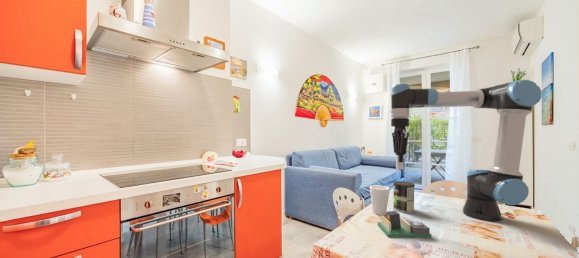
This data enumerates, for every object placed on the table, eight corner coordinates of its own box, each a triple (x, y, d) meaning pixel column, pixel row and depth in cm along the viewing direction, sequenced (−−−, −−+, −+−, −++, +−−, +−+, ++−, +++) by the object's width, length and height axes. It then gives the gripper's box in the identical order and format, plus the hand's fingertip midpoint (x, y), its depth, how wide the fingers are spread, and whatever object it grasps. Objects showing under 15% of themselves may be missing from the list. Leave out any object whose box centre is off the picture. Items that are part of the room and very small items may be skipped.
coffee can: (396, 212, 127) (396, 184, 127) (391, 206, 137) (391, 180, 137) (417, 213, 126) (417, 185, 126) (410, 207, 136) (410, 181, 136)
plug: (396, 224, 106) (395, 210, 106) (400, 228, 102) (399, 214, 102) (387, 225, 106) (386, 211, 106) (391, 229, 102) (389, 214, 102)
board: (416, 225, 109) (416, 215, 109) (431, 237, 97) (431, 225, 97) (377, 225, 109) (377, 214, 109) (387, 236, 97) (388, 224, 97)
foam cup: (389, 211, 128) (390, 186, 128) (388, 217, 119) (389, 190, 120) (370, 208, 132) (370, 184, 132) (368, 214, 123) (368, 188, 124)
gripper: (386, 118, 120) (386, 166, 120) (397, 117, 107) (397, 171, 107) (402, 118, 120) (401, 166, 120) (415, 117, 107) (414, 171, 107)
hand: (399, 168), depth 114 cm, fingers closed
